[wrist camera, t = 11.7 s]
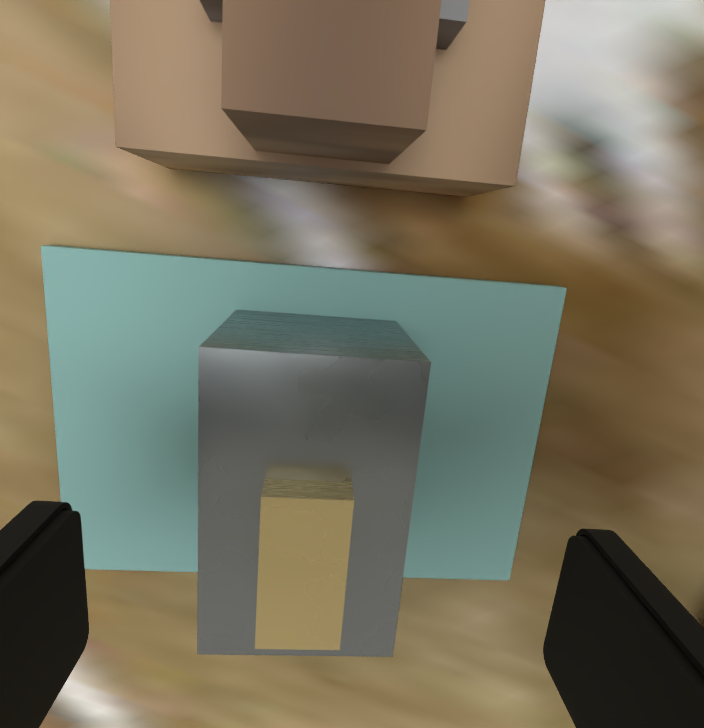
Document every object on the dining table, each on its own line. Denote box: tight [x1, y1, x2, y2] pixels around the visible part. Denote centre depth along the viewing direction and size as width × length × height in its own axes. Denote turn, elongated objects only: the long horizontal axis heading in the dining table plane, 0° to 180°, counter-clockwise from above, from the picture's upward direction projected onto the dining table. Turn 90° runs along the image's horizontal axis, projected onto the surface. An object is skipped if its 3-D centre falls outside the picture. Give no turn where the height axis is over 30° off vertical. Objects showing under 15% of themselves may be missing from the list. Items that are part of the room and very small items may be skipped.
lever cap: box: [197, 309, 431, 657], centre depth 14 cm, size 5×8×6 cm, turn 175°
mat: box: [41, 245, 567, 580], centre depth 17 cm, size 16×11×1 cm
